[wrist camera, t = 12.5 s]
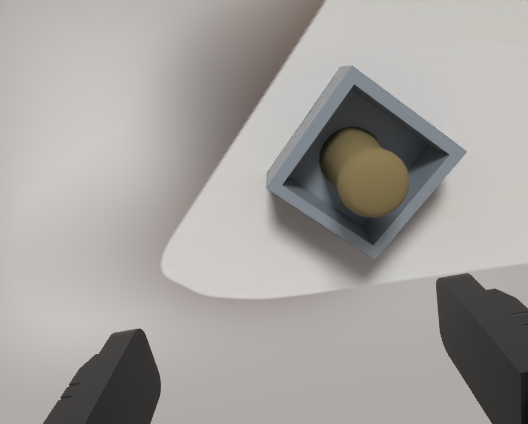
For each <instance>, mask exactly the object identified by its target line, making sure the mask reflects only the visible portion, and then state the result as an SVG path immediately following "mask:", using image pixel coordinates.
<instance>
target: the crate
mask: <svg viewBox="0 0 528 424" xmlns="http://www.w3.org/2000/svg"><path fill="white" fill-rule="evenodd" d="M346 127H360V128H362V129H365V130H368V131H369V132H370V133H371V134H373V135H374V136H375V137H376V139H377V140H378V142H379V144H380V145H381V147H382V149H385V150H388V151H390V152H392V153H394V154H395V155H396V156H398V157H399V158H400V159H401V160H402V161H403V163H404V165H405V166H406V168H407V171H408V176H409V181H410V182H409V189H408V193H407V195H406V197H405V199H404V201H403V202H402V203H401V204H400V206H399V207H398V208H397V209H396V210H394V211H392V212H391V213H389V214H387V215H384V216H380V217H376V218H375V217H364V216H361V215H358V214H356V213H354V212H352V211H351V210H350V209H348V208H347V207H346V206H345V204H344V203H343V201H342V200H341V198H340V196H339V192H338V188H337V187H336V186H335V185H333V184H332V183H331V182H329V181H328V180H327V179H326V178H325V176H324V174H323V173H322V171H321V168H320V164H319V158H320V151H321V149H322V146H323V144H324V142H325V141H326V140H327V139H328V137H329V136H330V135H331V134H333V133H334V132H336V131H338V130H339V129H343V128H346ZM466 152H467V151H466V150H464V149H463V148H462V147H460V146H459V145H458V144H456V143H455V142H454V141H452V140H451V139H450V138H448V137H447V136H446V135H444V134H443V133H442V132H440V131H439V130H438V129H436V128H435V127H434V126H432V125H431V124H430V123H428V122H427V121H426V120H424V119H423V118H422V117H420V116H419V115H418V114H416V113H415V112H414V111H412V110H411V109H410V108H408V107H407V106H406V105H404V104H403V103H402V102H400V101H399V100H398V99H396V98H395V97H394V96H392V95H391V94H390V93H388V92H387V91H386V90H384V89H383V88H382V87H380V86H379V85H378V84H376V83H375V82H374V81H372V80H371V79H369V78H368V77H367V76H365V75H364V74H363V73H361V72H360V71H359V70H357V69H356V68H355V67H353V66H344V67H340V68H339V70H338V71H337V72H336V74H335V75H334V77H333V78H332V80H331V81H330V83H329V84H328V85H327V87H326V88H325V90H324V91H323V93H322V94H321V96H320V97H319V98H318V100H317V101H316V103H315V104H314V106H313V107H312V108H311V110H310V111H309V113H308V114H307V116H306V117H305V119H304V120H303V121H302V123H301V124H300V126H299V127H298V129H297V130H296V132H295V133H294V134H293V136H292V137H291V139H290V140H289V142H288V143H287V145H286V146H285V147H284V149H283V150H282V152H281V153H280V155H279V156H278V158H277V159H276V160H275V162H274V163H273V165H272V166H271V168H270V169H269V170H268V172H267V182H266V188H267V189H268V190H270V191H271V192H273V193H274V194H276V195H277V196H279V197H280V198H282V199H283V200H285V201H286V202H288V203H289V204H291V205H292V206H294V207H295V208H297V209H298V210H300V211H301V212H303V213H305V214H306V215H308V216H309V217H311V218H312V219H314V220H315V221H317V222H318V223H320V224H321V225H323V226H324V227H326V228H327V229H329V230H330V231H332V232H333V233H335V234H336V235H338V236H339V237H341V238H343V239H344V240H346V241H347V242H349V243H350V244H352V245H353V246H355V247H356V248H358V249H359V250H361V251H362V252H364V253H365V254H367V255H368V256H370V257H371V258H373V259H374V260H375V259H376V258H377V257H378V256H379V254H380V253H381V252H382V251H383V250H384V249H385V247H386V246H387V245H388V244H389V243H390V242H391V240H392V239H393V238H394V237H395V236H396V235H397V233H398V232H399V231H400V230H401V229H402V227H403V226H404V225H405V224H406V223H407V222H408V220H409V219H410V218H411V217H412V216H413V215H414V213H415V212H416V211H417V210H418V209H419V208H420V206H421V205H422V204H423V203H424V202H425V201H426V199H427V198H428V197H429V196H430V195H431V193H432V192H433V191H434V190H435V189H436V188H437V186H438V185H439V184H440V183H441V182H442V181H443V179H444V178H445V177H446V176H447V175H448V174H449V172H450V171H451V170H452V169H453V168H454V167H455V165H456V164H457V163H458V162H459V161H460V159H461V158H462V157H463V156H464V155H465V154H466Z"/></svg>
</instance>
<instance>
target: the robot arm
mask: <svg viewBox="0 0 528 424" xmlns="http://www.w3.org/2000/svg"><path fill="white" fill-rule="evenodd" d="M436 291H437V301H438V302H437V303H438V315H439V327H440V334H441V338H442V341H443V344H444V347H445V349H446V351H447V353H448V355H449V357H450V358H451V360H452V361H453V363H454V365H455V366H456V368H457V369H458V370H459V372H460V374H461V375H462V377H463V378H464V380H465V382H466V383H467V385H468V386H469V388H470V389H471V391H472V393H473V394H474V396H475V398H476V399H477V401H478V402H479V404H480V405H481V407H482V409H483V410H484V412H485V413H486V415H487V416H488V418H489V420H490V421H491V423H492V424H528V308H527V307H525V306H524V305H523V304H522V303H521V302H520V301H519V300H518V299H517V298H515V297H513V296H510V295H508V294H506V293H504V292H502V291H499V290H497V289H491V290H485V289H484V288H483V287H482V286H481V285H480V284H479V283H478V282H477V281H476V280H475V279H474V278H473V277H472V276H471V275H470V274H468V273H466V274H460V275H454V276H448V277H443V278H438V280H437V282H436ZM69 385H70V386H69V387H67V388H66V390H65V391H64V393H63V394H62V396H61V400H59V401H58V402H57V404H56V405H55V406H54V408H53V409H52V411H51V413H50V414H49V415H48V417H47V419H46V420H45V421H44V423H43V424H150V423H151V420H152V417H153V414H154V411H155V408H156V405H157V403H158V400H159V397H160V391H161V381H160V375H159V372H158V369H157V366H156V363H155V361H154V357H153V354H152V352H151V349H150V346H149V343H148V340H147V338H146V335H145V333H144V331H143V330H142V329H134V330H128V331H123V332H116V333H113V334H112V335H111V336H110V337H109V339H108V340H107V342H106V343H105V345H104V347H103V348H102V350H101V351H100V353H99V354H96V355H94V356H93V357H92V358H91V359H90V360H89V361H88V362H87V363H85V364H84V365H83V366H82V367H81V368H80V369H79V370H78V372H77V373H76V375H75V376H74V378H73V379H72V381H71V382H70V384H69Z"/></svg>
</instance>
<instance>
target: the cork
mask: <svg viewBox="0 0 528 424" xmlns="http://www.w3.org/2000/svg"><path fill="white" fill-rule="evenodd" d="M319 164H320V168H321V171H322V173H323V174H324V176H325V178H326V179H327V180H328V181H329V182H331V183H332V184H333V185H335V186H336V187H337V188H338V192H339V196H340V198H341V200H342V201H343V203H344V204H345V206H346V207H347V208H348V209H350V210H351V211H352V212H354V213H356V214H358V215H361V216H364V217H375V218H376V217H380V216H384V215H387V214H389V213H391V212H392V211H394V210H396V209H397V208H398V207H399V206H400V204H401V203H402V202H403V201H404V199H405V197H406V195H407V193H408V189H409V182H410V181H409V176H408V171H407V168H406V166H405V165H404V163H403V161H402V160H401V159H400V158H399V157H398V156H396V155H395V154H394V153H392V152H390V151H388V150H385V149H382V147H381V145H380V144H379V142H378V140H377V139H376V137H375V136H374V135H373V134H371V133H370V132H369V131H368V130H365V129H362V128H360V127H346V128H343V129H339V130H338V131H336V132H334V133H333V134H331V135H330V136H329V137H328V139H327V140H326V141H325V142H324V144H323V146H322V149H321V151H320V158H319Z"/></svg>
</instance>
